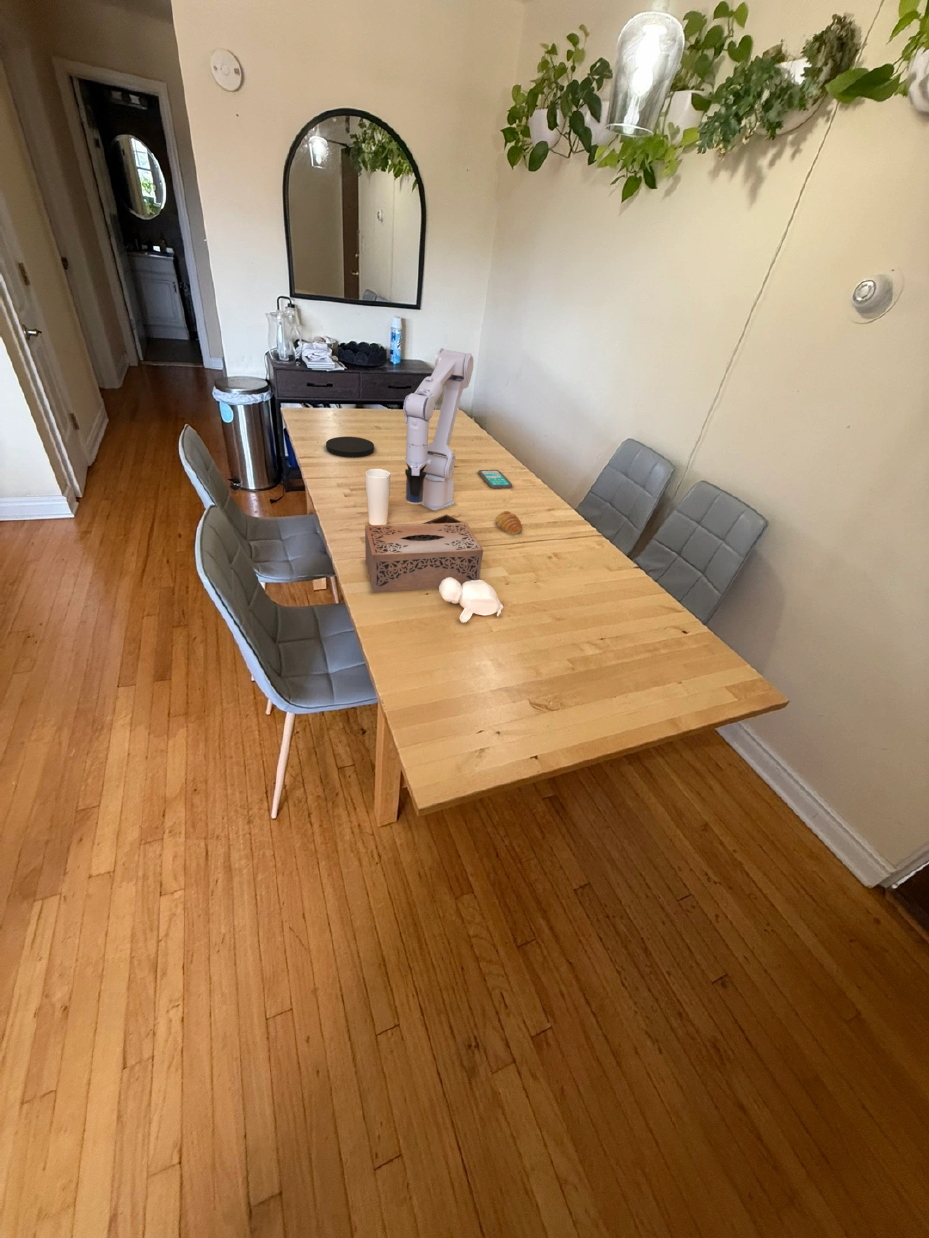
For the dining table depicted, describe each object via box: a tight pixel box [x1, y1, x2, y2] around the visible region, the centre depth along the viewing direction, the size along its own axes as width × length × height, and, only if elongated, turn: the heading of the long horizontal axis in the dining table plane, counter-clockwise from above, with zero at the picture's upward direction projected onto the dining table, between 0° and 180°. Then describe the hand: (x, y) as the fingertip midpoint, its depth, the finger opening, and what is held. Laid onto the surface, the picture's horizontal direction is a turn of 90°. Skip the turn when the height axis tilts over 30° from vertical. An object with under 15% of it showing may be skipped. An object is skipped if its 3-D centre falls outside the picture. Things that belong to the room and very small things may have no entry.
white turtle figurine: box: [438, 577, 504, 624], centre depth 114 cm, size 9×8×15 cm
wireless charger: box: [325, 436, 375, 459], centre depth 193 cm, size 18×18×2 cm
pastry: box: [495, 510, 523, 535], centre depth 152 cm, size 9×7×4 cm
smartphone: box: [478, 469, 513, 489], centre depth 183 cm, size 9×1×15 cm
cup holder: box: [421, 514, 464, 524], centre depth 144 cm, size 8×15×2 cm, turn 138°
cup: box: [405, 471, 425, 505], centre depth 142 cm, size 5×5×8 cm
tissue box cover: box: [364, 522, 484, 594], centre depth 124 cm, size 26×14×10 cm, turn 105°
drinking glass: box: [364, 468, 391, 525], centre depth 142 cm, size 7×7×15 cm
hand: (415, 491), depth 143 cm, fingers closed on cup, 5 cm apart
